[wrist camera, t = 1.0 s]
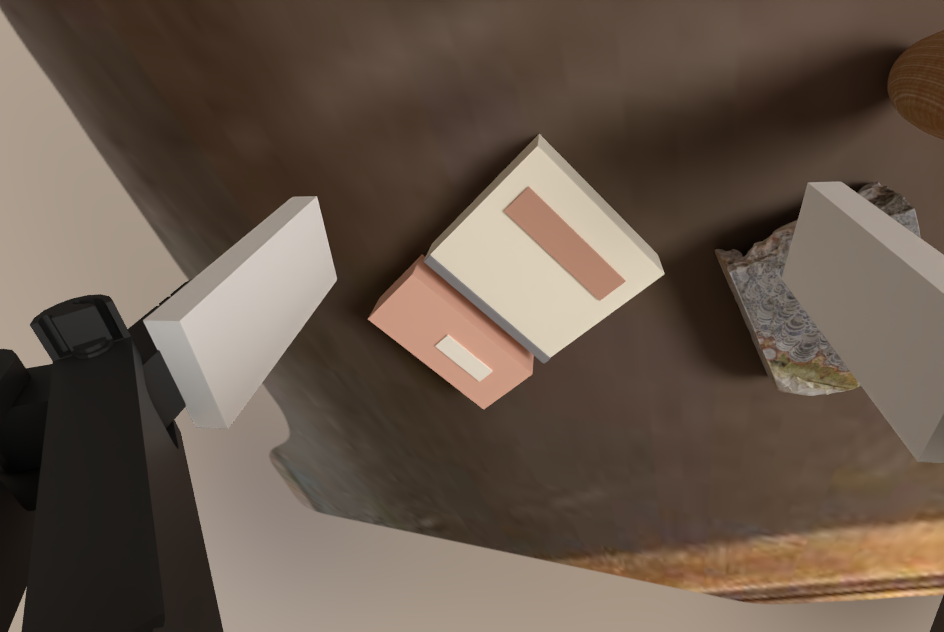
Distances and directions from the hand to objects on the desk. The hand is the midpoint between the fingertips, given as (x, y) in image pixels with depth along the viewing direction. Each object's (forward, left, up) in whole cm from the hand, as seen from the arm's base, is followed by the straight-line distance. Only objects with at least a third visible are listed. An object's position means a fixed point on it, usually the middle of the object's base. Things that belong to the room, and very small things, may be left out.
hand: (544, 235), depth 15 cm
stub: (+8, -19, -24) cm, 32 cm away
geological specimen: (+25, +4, -25) cm, 35 cm away
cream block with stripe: (+8, -9, -24) cm, 27 cm away
